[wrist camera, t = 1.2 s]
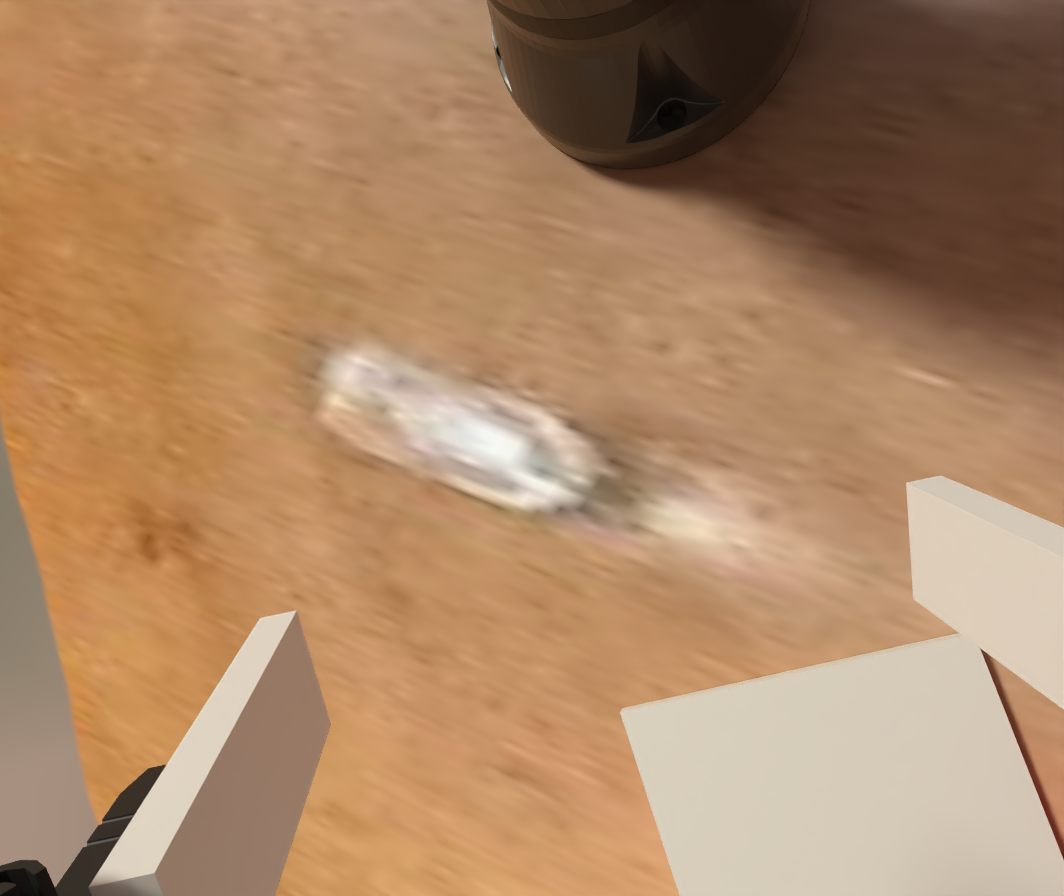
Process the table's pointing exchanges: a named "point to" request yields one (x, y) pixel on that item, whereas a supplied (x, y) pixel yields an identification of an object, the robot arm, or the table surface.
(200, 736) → the robot arm
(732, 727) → the grey rubber mat
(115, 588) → the table surface
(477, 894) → the table surface
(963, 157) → the table surface
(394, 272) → the table surface
